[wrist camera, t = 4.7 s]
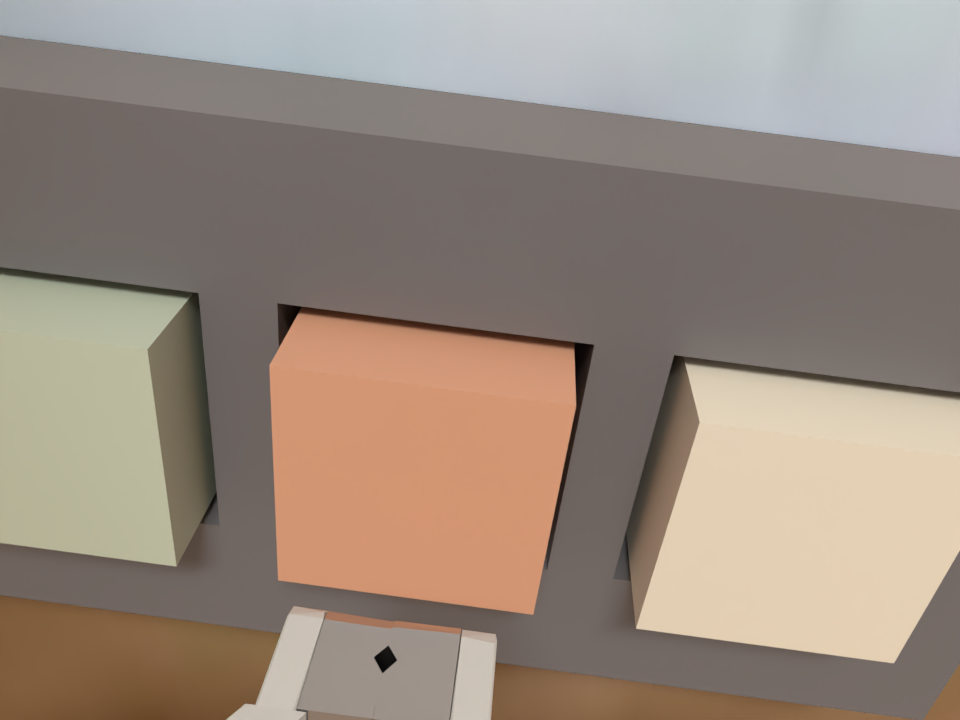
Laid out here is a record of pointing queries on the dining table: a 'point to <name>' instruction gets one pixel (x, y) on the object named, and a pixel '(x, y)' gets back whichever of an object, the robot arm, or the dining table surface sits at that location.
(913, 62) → the dining table surface
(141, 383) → the sage button
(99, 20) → the dining table surface
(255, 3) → the dining table surface
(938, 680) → the button panel
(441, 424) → the terracotta button
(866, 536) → the cream button
